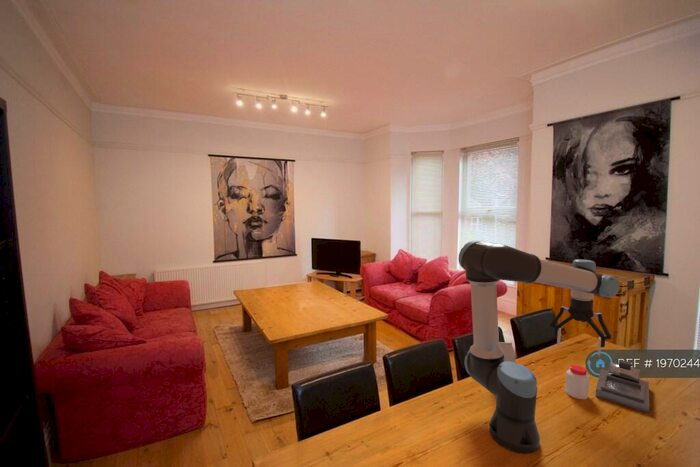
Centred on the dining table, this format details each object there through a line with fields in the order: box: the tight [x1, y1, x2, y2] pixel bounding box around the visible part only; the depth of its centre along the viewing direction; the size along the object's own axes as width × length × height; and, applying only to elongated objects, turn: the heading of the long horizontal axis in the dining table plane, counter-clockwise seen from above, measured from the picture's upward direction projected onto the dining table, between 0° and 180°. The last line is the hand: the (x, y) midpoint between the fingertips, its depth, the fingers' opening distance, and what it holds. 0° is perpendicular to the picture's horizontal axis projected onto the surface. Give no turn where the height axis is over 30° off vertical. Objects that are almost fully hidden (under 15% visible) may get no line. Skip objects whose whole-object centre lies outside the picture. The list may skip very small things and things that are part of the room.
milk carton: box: [499, 341, 517, 363], centre depth 140 cm, size 7×7×19 cm
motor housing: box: [595, 359, 650, 414], centre depth 135 cm, size 22×16×10 cm
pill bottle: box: [564, 364, 590, 400], centre depth 134 cm, size 8×8×11 cm
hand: (578, 349), depth 133 cm, fingers open, 13 cm apart
